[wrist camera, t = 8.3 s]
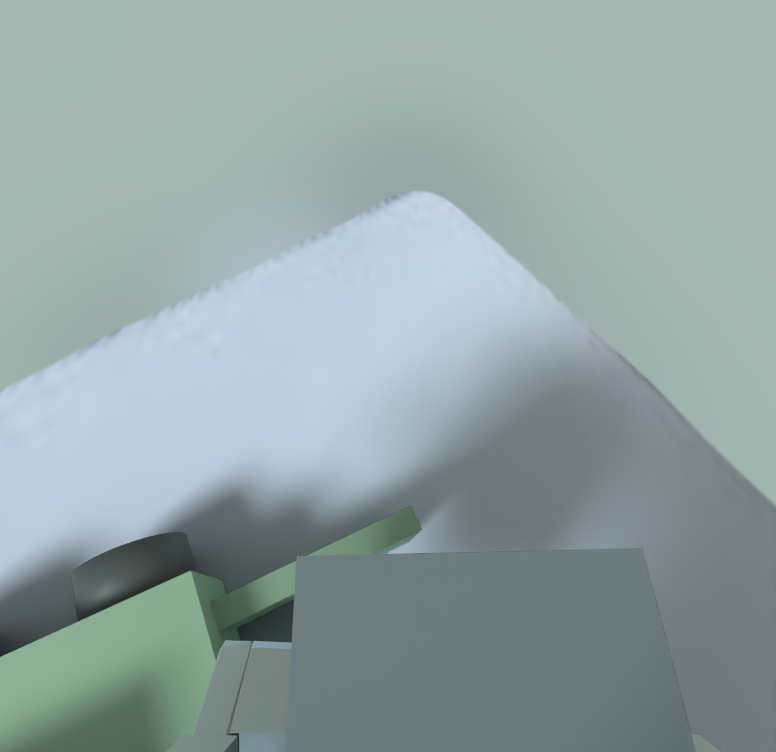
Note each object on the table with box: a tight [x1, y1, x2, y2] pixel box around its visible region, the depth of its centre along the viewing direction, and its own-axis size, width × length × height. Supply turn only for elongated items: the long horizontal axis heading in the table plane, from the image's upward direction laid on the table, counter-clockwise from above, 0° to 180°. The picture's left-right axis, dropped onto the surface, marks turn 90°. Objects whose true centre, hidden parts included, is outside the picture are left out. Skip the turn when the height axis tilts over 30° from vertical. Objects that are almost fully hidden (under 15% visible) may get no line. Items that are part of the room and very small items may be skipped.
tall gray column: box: [285, 549, 696, 752], centre depth 9 cm, size 4×4×10 cm
